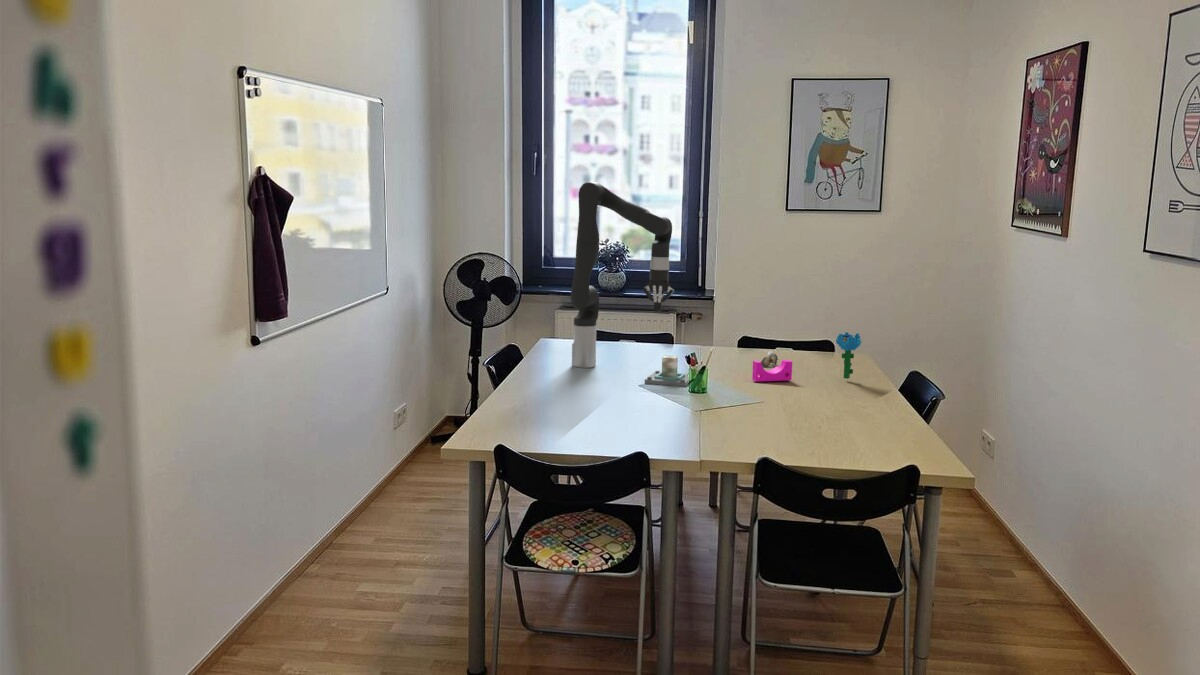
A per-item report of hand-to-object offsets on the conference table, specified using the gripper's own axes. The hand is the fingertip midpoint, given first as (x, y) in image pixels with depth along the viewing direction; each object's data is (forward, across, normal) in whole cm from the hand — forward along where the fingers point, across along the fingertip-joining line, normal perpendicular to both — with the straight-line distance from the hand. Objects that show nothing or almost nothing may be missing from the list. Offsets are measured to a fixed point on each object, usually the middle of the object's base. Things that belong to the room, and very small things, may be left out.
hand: (657, 311), depth 358 cm
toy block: (+25, +45, +9) cm, 52 cm away
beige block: (+24, +9, -11) cm, 28 cm away
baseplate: (+25, +9, -11) cm, 29 cm away
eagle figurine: (+22, +42, +39) cm, 62 cm away
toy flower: (+24, +74, +22) cm, 80 cm away
